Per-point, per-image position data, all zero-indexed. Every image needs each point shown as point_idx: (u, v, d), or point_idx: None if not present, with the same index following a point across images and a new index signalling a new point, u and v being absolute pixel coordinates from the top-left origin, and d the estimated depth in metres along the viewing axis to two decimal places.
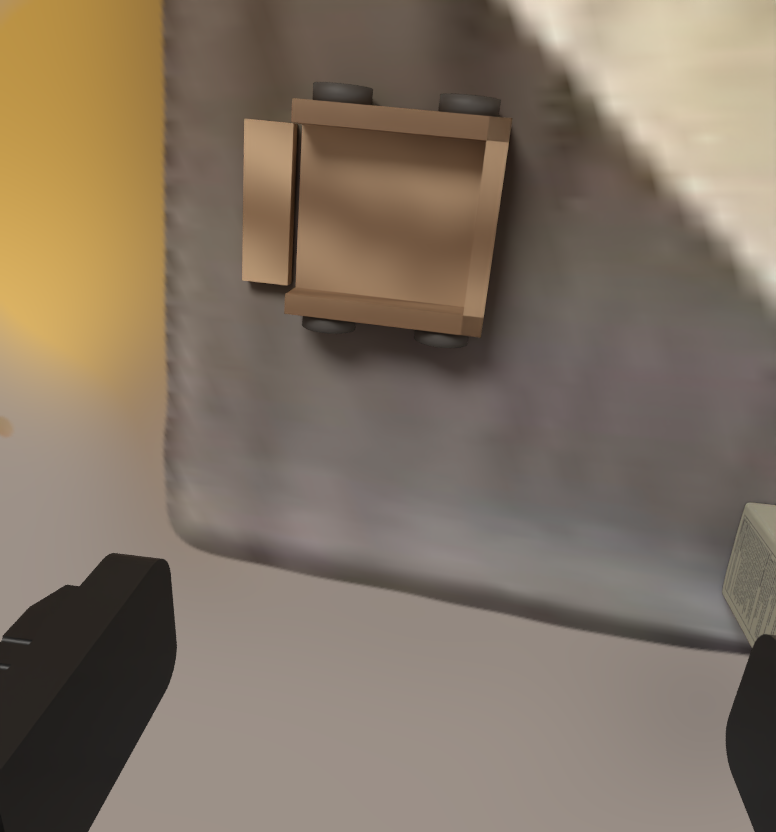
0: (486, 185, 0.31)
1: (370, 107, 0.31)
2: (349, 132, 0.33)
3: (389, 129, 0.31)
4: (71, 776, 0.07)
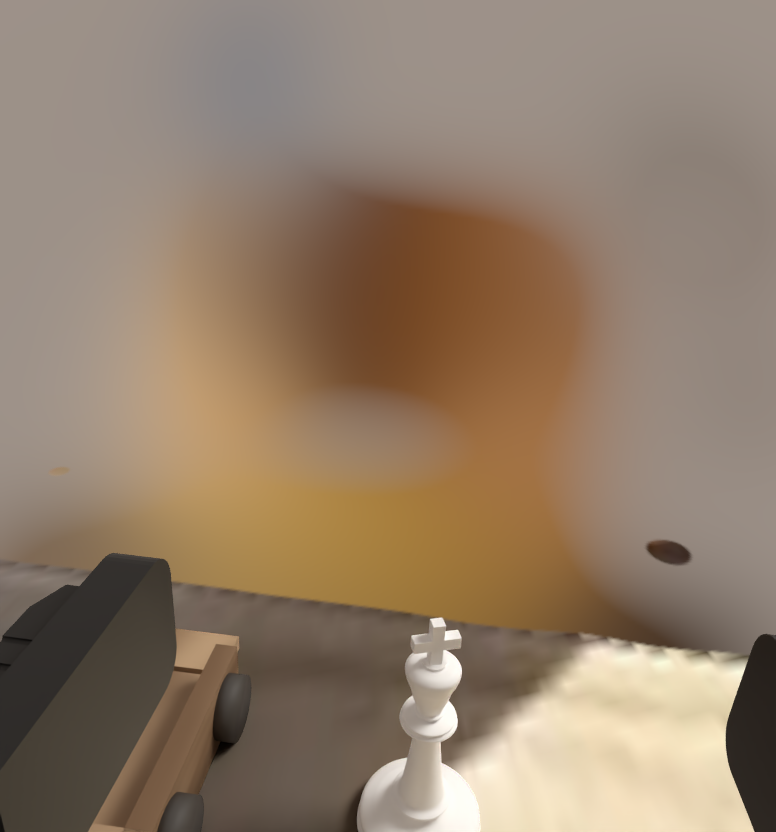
0: None
1: (206, 707, 0.28)
2: None
3: (177, 723, 0.27)
4: (71, 777, 0.07)
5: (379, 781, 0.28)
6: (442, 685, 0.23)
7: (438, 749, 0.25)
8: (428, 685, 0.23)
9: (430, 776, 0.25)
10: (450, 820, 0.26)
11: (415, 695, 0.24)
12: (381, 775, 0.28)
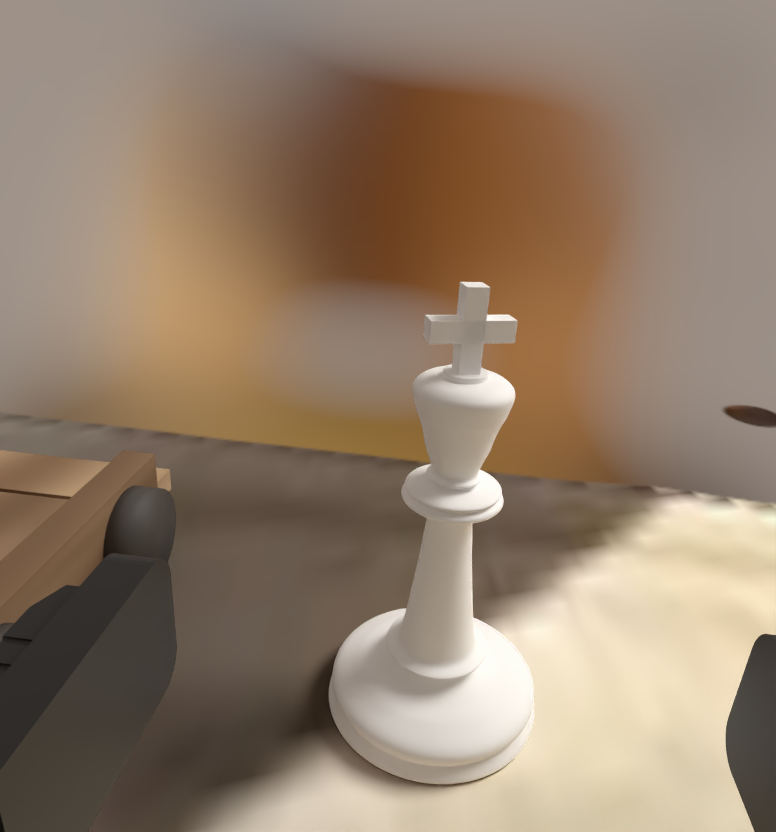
0: None
1: (89, 514, 0.17)
2: None
3: (35, 530, 0.17)
4: (71, 776, 0.07)
5: (366, 632, 0.17)
6: (482, 401, 0.12)
7: (468, 552, 0.14)
8: (456, 401, 0.12)
9: (453, 601, 0.15)
10: (486, 684, 0.15)
11: (431, 434, 0.13)
12: (370, 626, 0.17)
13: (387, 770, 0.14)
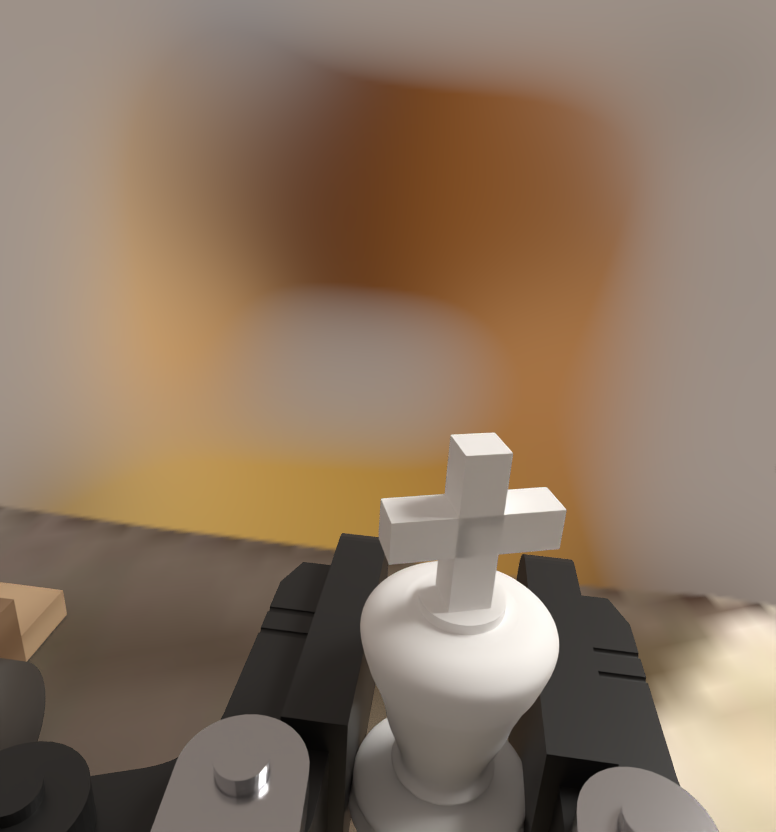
0: None
1: None
2: None
3: None
4: (359, 730, 0.08)
5: None
6: (496, 683, 0.06)
7: None
8: (443, 682, 0.06)
9: None
10: None
11: (395, 718, 0.07)
12: None
13: None
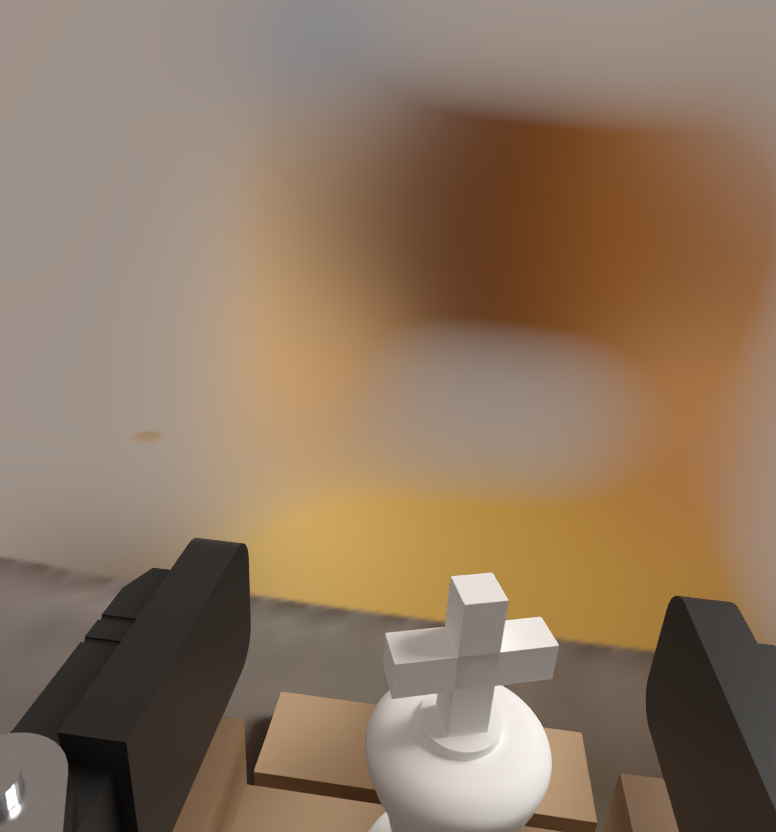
0: None
1: None
2: None
3: None
4: (176, 745, 0.08)
5: None
6: (491, 812, 0.07)
7: None
8: (442, 811, 0.07)
9: None
10: None
11: (397, 831, 0.07)
12: None
13: None
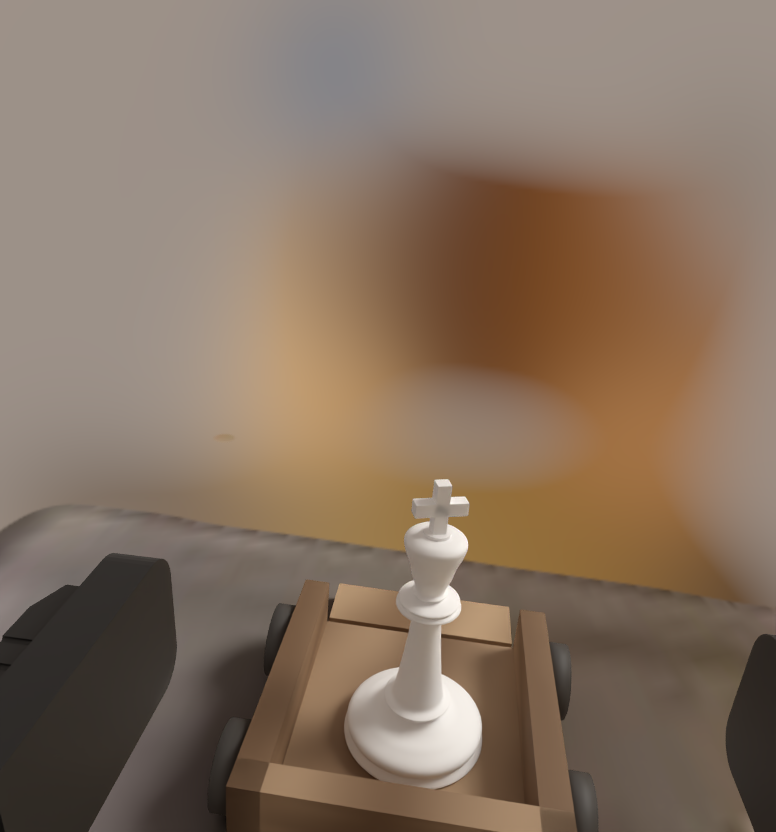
0: (473, 804, 0.20)
1: (551, 676, 0.24)
2: (511, 689, 0.27)
3: (530, 692, 0.24)
4: (71, 776, 0.07)
5: (370, 686, 0.25)
6: (446, 554, 0.20)
7: (438, 640, 0.22)
8: (430, 554, 0.20)
9: (428, 671, 0.22)
10: (449, 725, 0.23)
11: (415, 569, 0.21)
12: (373, 681, 0.25)
13: (382, 780, 0.22)
